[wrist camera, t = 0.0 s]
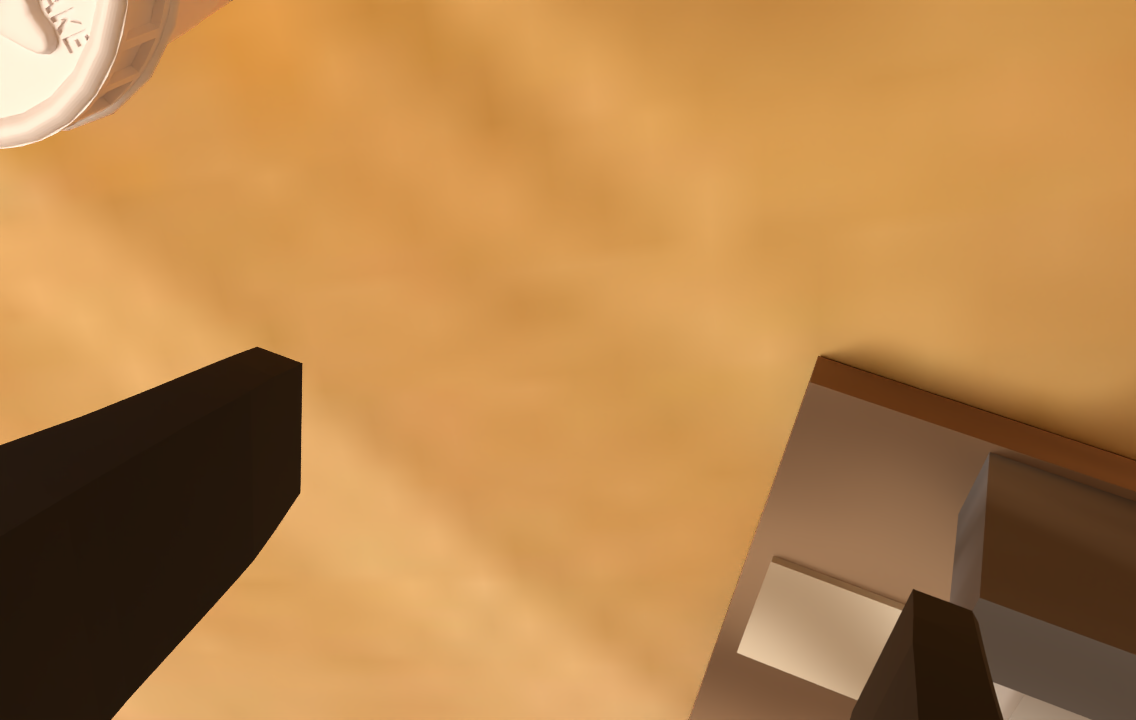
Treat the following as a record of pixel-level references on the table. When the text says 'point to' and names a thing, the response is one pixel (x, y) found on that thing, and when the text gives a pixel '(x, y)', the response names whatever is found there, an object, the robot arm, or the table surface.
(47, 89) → the smoothie
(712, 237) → the table surface
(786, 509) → the rail board
